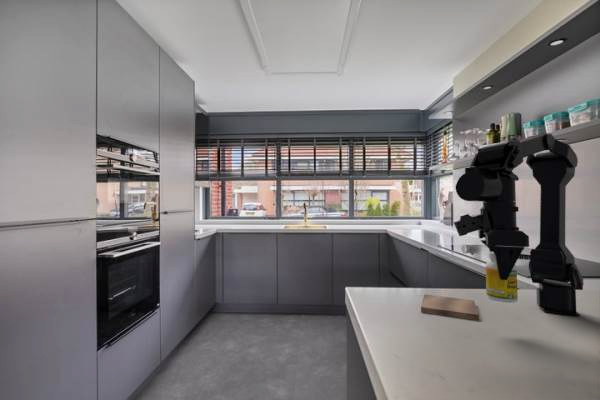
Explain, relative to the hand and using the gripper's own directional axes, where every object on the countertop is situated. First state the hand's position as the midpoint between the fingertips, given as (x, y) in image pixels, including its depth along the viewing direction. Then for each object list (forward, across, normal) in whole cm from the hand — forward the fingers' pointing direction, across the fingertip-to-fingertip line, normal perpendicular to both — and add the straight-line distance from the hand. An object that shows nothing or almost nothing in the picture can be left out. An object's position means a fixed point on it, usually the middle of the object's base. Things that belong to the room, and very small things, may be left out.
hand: (501, 276), depth 60 cm
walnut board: (+11, -10, -10) cm, 18 cm away
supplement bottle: (+5, 0, 0) cm, 5 cm away
